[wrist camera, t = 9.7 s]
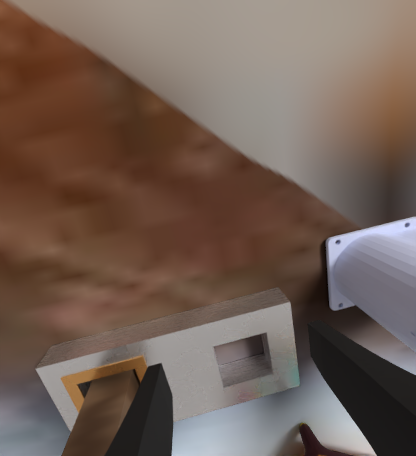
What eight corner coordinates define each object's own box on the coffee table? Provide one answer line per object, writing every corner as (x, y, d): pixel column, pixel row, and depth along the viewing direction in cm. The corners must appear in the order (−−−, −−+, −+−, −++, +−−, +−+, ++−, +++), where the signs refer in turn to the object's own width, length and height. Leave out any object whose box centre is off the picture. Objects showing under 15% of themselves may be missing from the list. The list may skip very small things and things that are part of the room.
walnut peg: (135, 353, 22) (112, 452, 15) (146, 380, 23) (129, 486, 16) (99, 363, 22) (56, 468, 14) (111, 390, 23) (77, 501, 15)
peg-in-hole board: (278, 287, 22) (290, 302, 20) (288, 364, 25) (300, 386, 22) (52, 345, 21) (34, 369, 18) (90, 420, 24) (79, 450, 21)
